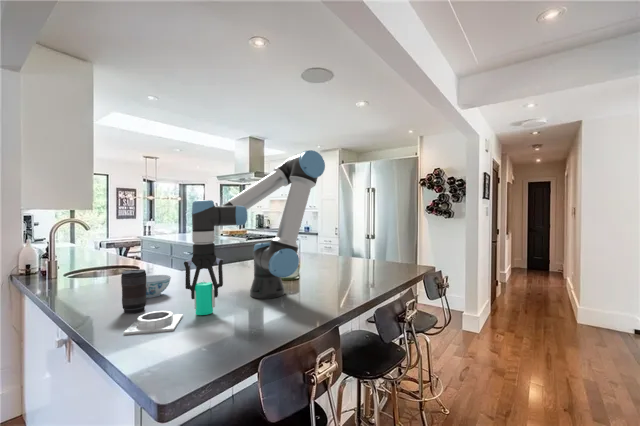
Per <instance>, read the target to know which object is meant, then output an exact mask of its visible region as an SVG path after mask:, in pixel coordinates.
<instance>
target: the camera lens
mask: <svg viewBox="0 0 640 426" xmlns="http://www.w3.org/2000/svg"><path fill="white" fill-rule="evenodd" d="M146 276H147V271H146V270H145V269H141V268H140V269H139V268H138V269H130V270H125V271H122V272H121V276H120V284H121V285H120V286H121V304H122V306H121V307H122V309H123V313H124V314H129V315H130V314H131V315H132V314H139V313H142V312H144V311H145V309H146V308H145V307H146V305H147V297H146V291H147V288H146Z"/></svg>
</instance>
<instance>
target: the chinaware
mask: <svg viewBox="0 0 640 426" xmlns="http://www.w3.org/2000/svg"><path fill="white" fill-rule="evenodd" d="M171 278H172V276H171V275H167V274H153V275H146V288H147V291H146V299H147V298H156V297H159V296H162V295H161V294H162V293H163V292H164V291H165V290H166V289H167V288H168V286H170V282H171Z"/></svg>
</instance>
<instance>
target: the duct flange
mask: <svg viewBox="0 0 640 426" xmlns="http://www.w3.org/2000/svg"><path fill="white" fill-rule="evenodd" d="M183 317H184V315H183V313H181V314H178V313H177V314H174V313H173V312H172V311H169V310H158V311H151V312H146V313H144V314H141V315H139V316H138V317H137V318H136V320H134V322H132V324H130V326H128V327H127V328H126V329H125V330H124V331H123V332H122V333H123V336H126V335H127V336H129V335H140V334H151V333H163V332H175V330H176V328H177V326H178V325H179V323H180V321H181V320H182V318H183Z"/></svg>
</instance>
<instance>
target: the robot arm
mask: <svg viewBox="0 0 640 426" xmlns="http://www.w3.org/2000/svg"><path fill="white" fill-rule="evenodd" d="M325 163H326V162H325V160H324V158H323V156H322V154H321V153H320V152H318V151H316V150H314V149H313V150H311V149H310V150H304V151H301V152H299V153H296V154H294V155H291V156H290V157H288V158H287V159H286V160H284V161H283V162H281V164H279V165H278V166H276V167H275V168H273V172H271V173H269V174H268V175H266V176H264V177H263V178H262V179H260V180H259V181H257V182H255V183H254V184H252V185H251V186H248V188H246V189H244V190H242V191H241V192H239V193H238V194H237V195H235V196H233V197H232V198H230V199H229V200H227V201H226V202H224V203H223V204H221V205H215V201H213V200H209V199H208V200H207V199H206V200H205V199H203V200H201V199H199V200H198V199H197V200H194V201H193V202H192V203H191V204H192V205H191V222H192V223H191V227H192V232H191V234H192V235H191V236H192V237H191V238H192V243H193V244H192V257H191V259H188V260H185V261H184V262H183V265H184V268H185V289H186V290H189V291H190V294H191V295H190V298H191V300H194V309H195V310H196V291H195V285H196V284H197V283H198V279H199V276H200V273H201V270H205V269H206V270H207V271H208V273H209V276H210V279H211V280H210V281H211V283H212V284H213V288H212V308H213V309H214V308H215V307H216V298H218V297H219V288H221V287H223V285H224V276H223V273H224V272H223V263H224V261H225V260H224V258H218V257H217V256H216V250H215V249H216V245H215V243H214V242H215V237H216V236H215V227H219V226H222V227H223V226H224V227H226V226H230V227H231V226H236V227H237V226H242V225H243V226H244V225H246V223H247V221H248V211H247V210H250V208H252V207H253V206H255V205H256V204H258V203H259V202H260V201H263V200H264V199H266V198H267V197H269V196H270V195H272V194H273V193H274V192H276V191H277V190H279V189H280V188H282V187H287V186H289V185H290V187H289V190H288V195H287V197H286V201H285V205H284V208H283V212H282V214H281V218H280V222H279V224H278V225H279V226H278V228H277V233H276V236H275V237H274V238H272V239H271V241H270V242H263V243H262V242H261V243H256V244H254V245H253V246H254V247H253V280H252V283H251V286H250V288H249V289H250V290H249V293H250V295H249V296H250V297H251V298H253V299H262V300H264V299H274V298H275V299H276V298H280V297H282V296H284V295H285V287H284V283H283V280H282V278H288V277H291V276H292V275H294V274H295V272H296V271H297V269H298V268H299V265H300V258H299V256H298V250H299V245H298V243H297V240H298V236H299V232H300V229H301V225H302V222H303V219H304V214H305V211H306V207H307V203H308V200H309V196H310V193H311V189H313V188H314V187H316V186H317V182H318V178H319V177H321V176H322V175H323V174H324V172H325V170H326V169H325V168H326V164H325ZM215 262H216V265H218V266H217V268H218V282H217V278H216V275H215V271H214V267H213V265H214V264H215ZM192 264H193V265H194V266H195V272H194V275H193V279H192V283H191V266H192Z"/></svg>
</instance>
